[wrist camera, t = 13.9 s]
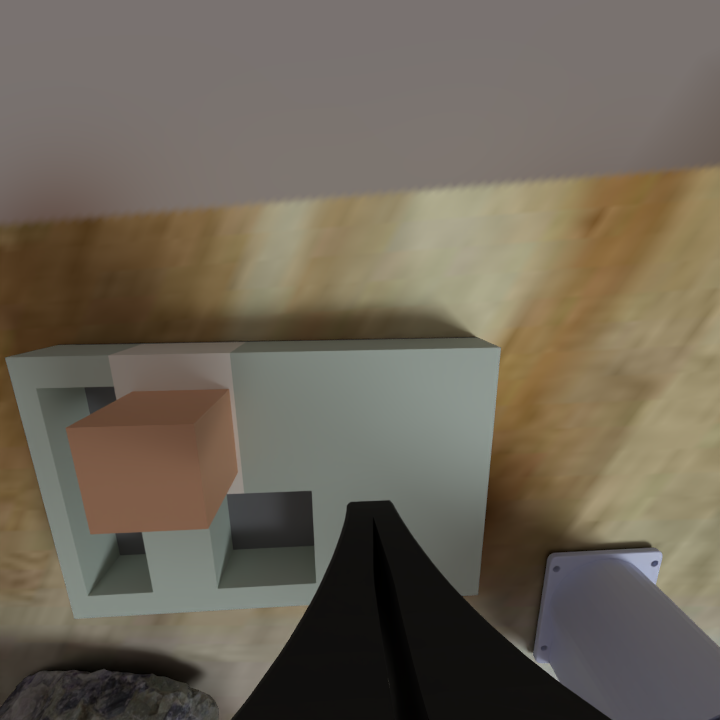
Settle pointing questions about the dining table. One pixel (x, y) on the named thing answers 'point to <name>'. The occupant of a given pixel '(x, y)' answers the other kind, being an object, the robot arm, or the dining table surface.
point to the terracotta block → (155, 460)
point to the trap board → (273, 462)
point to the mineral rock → (106, 698)
